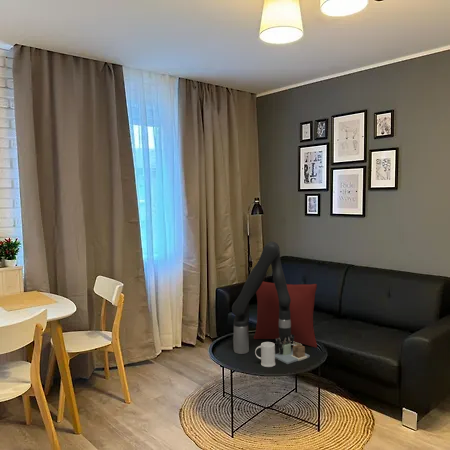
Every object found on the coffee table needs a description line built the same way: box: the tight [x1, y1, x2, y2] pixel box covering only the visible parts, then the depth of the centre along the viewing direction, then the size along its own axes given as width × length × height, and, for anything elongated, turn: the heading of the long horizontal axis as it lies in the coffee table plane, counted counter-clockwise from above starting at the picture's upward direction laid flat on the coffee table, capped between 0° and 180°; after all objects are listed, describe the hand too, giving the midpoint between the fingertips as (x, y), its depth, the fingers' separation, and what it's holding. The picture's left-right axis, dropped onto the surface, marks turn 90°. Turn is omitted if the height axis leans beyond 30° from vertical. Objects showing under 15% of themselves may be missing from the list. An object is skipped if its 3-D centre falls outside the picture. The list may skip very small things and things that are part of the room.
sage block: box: [278, 342, 292, 356], centre depth 268 cm, size 5×5×6 cm
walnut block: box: [292, 343, 306, 358], centre depth 264 cm, size 5×5×6 cm
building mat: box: [275, 348, 311, 365], centre depth 265 cm, size 14×18×1 cm
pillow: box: [253, 280, 318, 349], centre depth 288 cm, size 44×15×42 cm, turn 65°
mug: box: [254, 341, 276, 368], centre depth 256 cm, size 12×8×12 cm
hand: (285, 352), depth 268 cm, fingers closed on sage block, 5 cm apart
